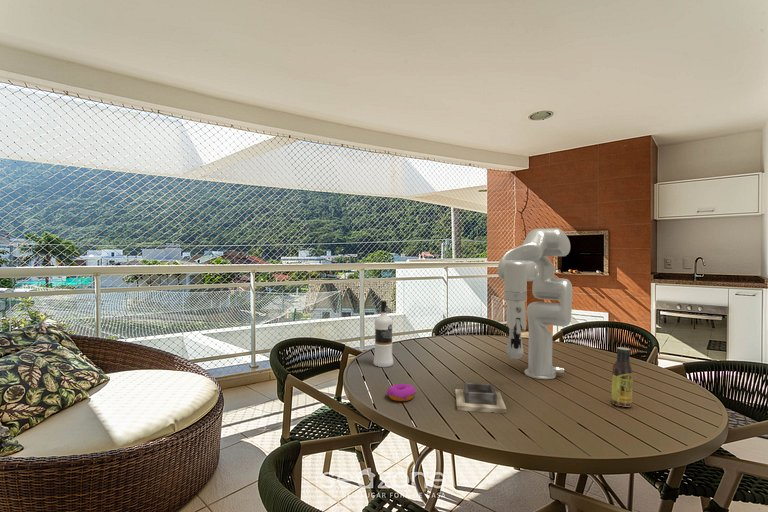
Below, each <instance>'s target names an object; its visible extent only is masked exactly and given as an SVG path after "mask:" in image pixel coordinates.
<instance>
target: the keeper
mask: <svg viewBox="0 0 768 512" xmlns="http://www.w3.org/2000/svg"><path fill="white" fill-rule="evenodd" d="M462 388H463V389H461V388H455V389H454V391H455V392H454V394H455V403H456V411H461V412H463V411H465V412H476V411H477V412H478V413H479V412H481V413H491V412H494V414H495V413H496V414H506V413H507V410H508V409H507V407H506V404H505V401H504V400H503V398H502V395H501V392H500V391H496V388H495V387H494V384H492V383H478V382H477V383H474V382H463V387H462ZM477 412H476V413H477Z"/></svg>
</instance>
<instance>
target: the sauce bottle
mask: <svg viewBox="0 0 768 512" xmlns="http://www.w3.org/2000/svg"><path fill="white" fill-rule="evenodd" d="M630 355H631V349H630V348H628V347H622V346H621V347H619V346H618V347H616V361H615V362H614V364H613V365H612V373H611V396H610V398H611V401H610V402H611V404H612V403H614V404H617V405H622V406H630V405H631V406H632V405H633V404H632V403H633V387H634V385H633V384H634V372H633V369H632V366H631V359H630Z"/></svg>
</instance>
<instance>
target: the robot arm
mask: <svg viewBox="0 0 768 512" xmlns="http://www.w3.org/2000/svg"><path fill="white" fill-rule="evenodd" d="M570 252H571V242H570V239H569V237H568V236H567V235H566V233H565V232H564V231H563V230H562V229H560V228H557V227H556V228H553V227H552V228H535V229H532V230H530V231H528V233H527V235H526V236H525V239H524V241H523V242H522V244H521V245H518V246H516V247H514V248H512V249H511V250H508V251H507V252H505V253H504V254H503V255H502V257H501V259H500V261H499V263H498V265H497V276H498V277H499V279H501V280H502V281H504V282H503V283H504V284H503V288H504V289H503V301H505V302H506V326H507V328H508V329H509V330H508V334H509V333H510V329H511V330H512V339H511V348H512V345H513V343H514V348H515V349H518V348H519V345H520V349H521V339H522V332H521V331H523V332H525V331H526V329H527V326H528V358H527V360H528V362H527V363H528V367H527V368H526V369H524V375H525V376H527V377H529V378H533V379H538V380H553V379H555V378H557V373H560V374H561V373H563V374H564V373H565V369H564V367H559V366H554V365H553V333H552V332H551V330H550V329H549V327H548V326H553V327H554V326H555V327H568V326H569V325H570V323H571V320H572V308H573V304H572V303H573V285H572V282H571V281H570V280H569V279H568V278H563V277H562V278H561V277H559V278H558V277H557V278H556V277H555V272H556V271H555V266H554V264H553V263H552V261H551V260H550V259H549V258H548V257H567V255H569V253H570ZM527 282H532V288H531V289H532V290H531V291H532V295H533V297H534V298H535V299H538V300H547V301H546V302H545V301H534V302H533V301H532V302H530V303H529V304H528V305H527V307H526V302H527V300H528V295H527V294H528V283H527ZM549 300H551V301H558V302H559V303H557V302H548V301H549ZM526 316H527V320H526ZM527 323H528V325H527ZM514 328H516V330H514ZM514 332H515V333H514Z"/></svg>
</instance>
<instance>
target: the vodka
mask: <svg viewBox="0 0 768 512" xmlns="http://www.w3.org/2000/svg"><path fill="white" fill-rule="evenodd" d="M393 321H394V320H393V319H392V318H391V317H390V316H389V315H388V314H387V300H381V301H380V315H378V316H377V317H376V318H375V320H374V357H373V361H372V362H373V365H374V366H375V367H377V366H378V367H377V368H389V367H391V366H393V365H394V358H393V344H394V343H393Z"/></svg>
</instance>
